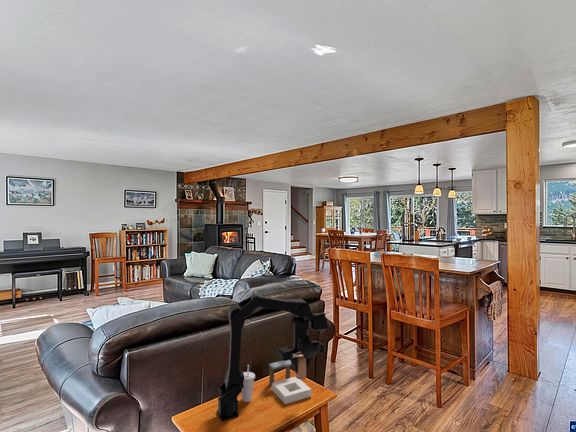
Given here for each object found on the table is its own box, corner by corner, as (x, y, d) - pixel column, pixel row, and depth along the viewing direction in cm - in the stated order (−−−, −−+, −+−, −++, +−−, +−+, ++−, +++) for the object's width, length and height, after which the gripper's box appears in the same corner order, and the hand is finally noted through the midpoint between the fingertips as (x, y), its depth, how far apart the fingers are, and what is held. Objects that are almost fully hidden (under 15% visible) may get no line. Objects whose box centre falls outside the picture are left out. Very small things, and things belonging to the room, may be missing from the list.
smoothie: (247, 405, 128) (247, 369, 128) (235, 400, 132) (235, 365, 132) (258, 398, 133) (258, 363, 133) (246, 393, 137) (247, 359, 137)
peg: (299, 380, 128) (299, 359, 128) (294, 375, 131) (294, 355, 131) (308, 377, 130) (308, 357, 130) (302, 373, 133) (302, 353, 133)
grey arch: (272, 388, 142) (273, 367, 142) (268, 383, 145) (269, 363, 145) (293, 382, 146) (293, 362, 146) (289, 378, 150) (289, 359, 150)
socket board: (285, 404, 130) (285, 396, 130) (271, 389, 140) (271, 382, 140) (311, 396, 135) (311, 389, 135) (296, 383, 146) (296, 376, 146)
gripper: (290, 343, 119) (290, 387, 119) (332, 334, 128) (332, 375, 128) (276, 333, 129) (276, 373, 129) (316, 326, 138) (316, 363, 138)
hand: (301, 371), depth 131 cm, fingers closed on peg, 4 cm apart
